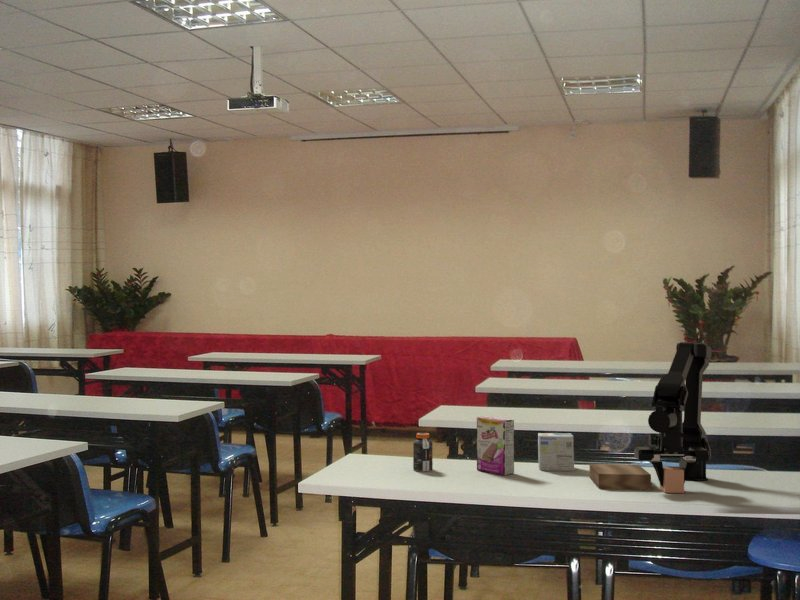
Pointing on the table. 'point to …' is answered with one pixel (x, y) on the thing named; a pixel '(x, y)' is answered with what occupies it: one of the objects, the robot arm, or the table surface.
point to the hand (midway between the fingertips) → (671, 485)
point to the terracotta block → (673, 480)
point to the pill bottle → (422, 453)
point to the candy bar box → (495, 445)
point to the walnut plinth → (619, 476)
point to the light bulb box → (556, 451)
